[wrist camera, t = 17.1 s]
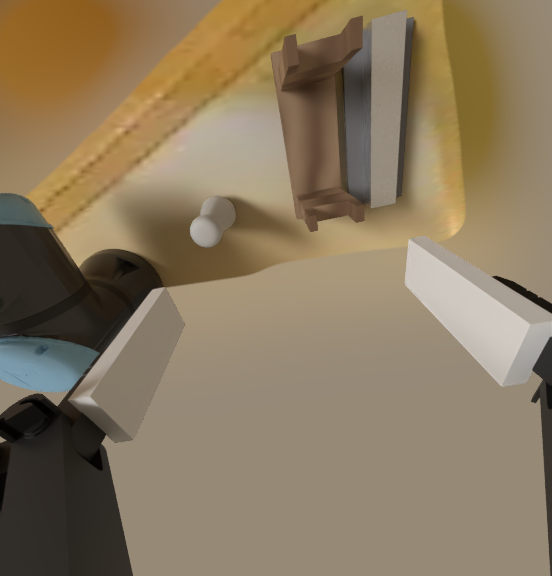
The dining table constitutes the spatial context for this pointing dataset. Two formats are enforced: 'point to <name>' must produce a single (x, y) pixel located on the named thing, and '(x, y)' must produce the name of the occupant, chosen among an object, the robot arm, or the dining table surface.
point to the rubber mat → (355, 117)
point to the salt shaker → (212, 221)
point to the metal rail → (382, 106)
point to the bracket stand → (315, 122)
